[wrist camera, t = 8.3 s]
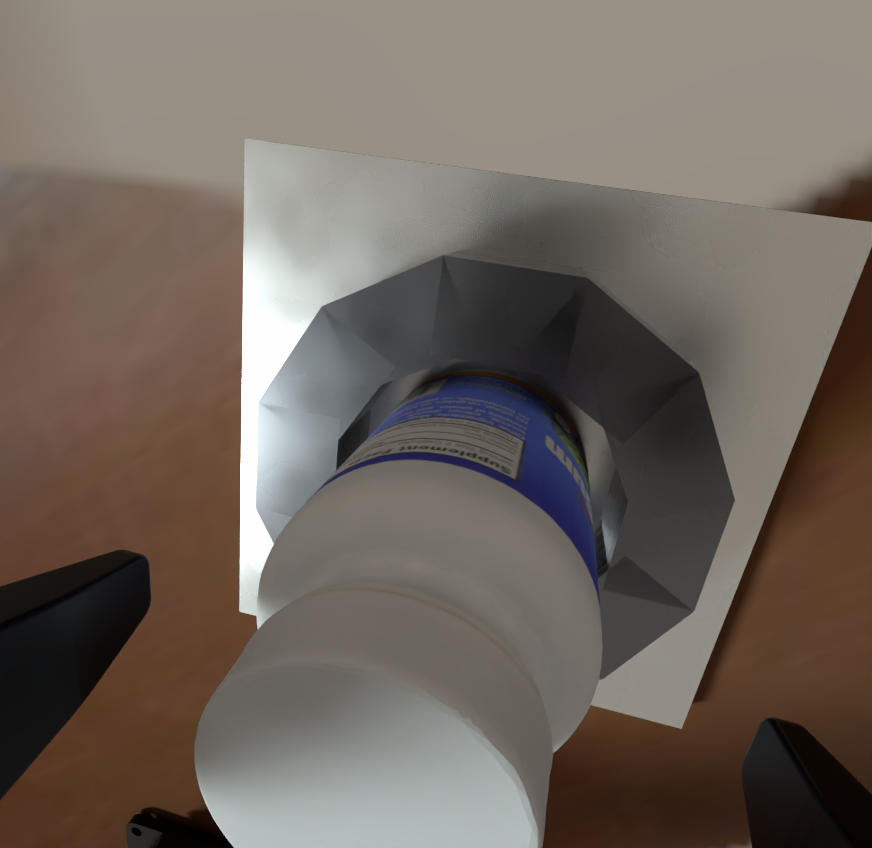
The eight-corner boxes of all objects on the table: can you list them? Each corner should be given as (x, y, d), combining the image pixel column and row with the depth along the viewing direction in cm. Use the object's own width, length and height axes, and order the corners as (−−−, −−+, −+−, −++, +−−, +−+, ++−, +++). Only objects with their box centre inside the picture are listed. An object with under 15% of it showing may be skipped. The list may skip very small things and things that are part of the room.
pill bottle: (585, 557, 15) (620, 1031, 6) (393, 548, 16) (191, 937, 7) (588, 359, 14) (641, 627, 5) (373, 365, 15) (79, 586, 6)
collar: (676, 707, 17) (700, 807, 14) (251, 596, 19) (195, 664, 16) (861, 223, 12) (957, 223, 9) (261, 143, 14) (182, 122, 11)
